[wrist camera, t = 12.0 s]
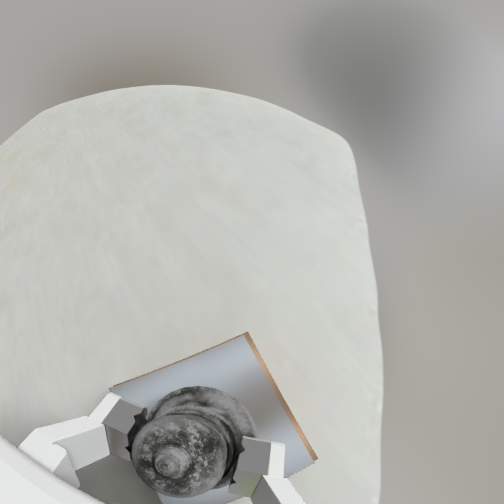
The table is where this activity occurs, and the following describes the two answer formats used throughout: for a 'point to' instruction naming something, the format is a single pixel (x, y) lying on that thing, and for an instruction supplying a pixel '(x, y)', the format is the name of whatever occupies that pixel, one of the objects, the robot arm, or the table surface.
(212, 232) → the table surface
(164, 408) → the salt shaker
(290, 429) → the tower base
